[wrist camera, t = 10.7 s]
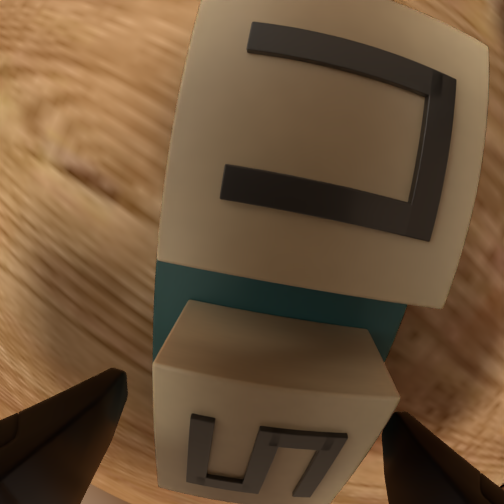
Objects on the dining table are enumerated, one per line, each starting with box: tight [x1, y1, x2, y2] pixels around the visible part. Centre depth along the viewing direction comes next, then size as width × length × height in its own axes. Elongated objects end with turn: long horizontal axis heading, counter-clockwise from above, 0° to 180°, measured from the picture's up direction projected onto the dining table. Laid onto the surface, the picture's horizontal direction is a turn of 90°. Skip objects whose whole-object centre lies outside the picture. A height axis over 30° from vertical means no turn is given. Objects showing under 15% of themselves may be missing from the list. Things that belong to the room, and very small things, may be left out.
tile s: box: [152, 300, 400, 504], centre depth 7 cm, size 5×5×3 cm
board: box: [153, 260, 407, 362], centre depth 8 cm, size 7×14×1 cm, turn 170°
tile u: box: [157, 0, 489, 309], centre depth 5 cm, size 5×5×3 cm
